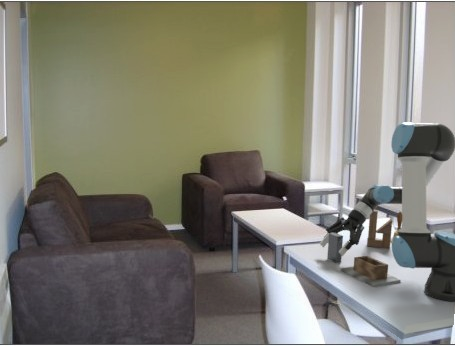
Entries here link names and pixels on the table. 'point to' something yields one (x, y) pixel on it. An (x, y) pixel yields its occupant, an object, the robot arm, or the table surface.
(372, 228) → the wooden angular frame
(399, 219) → the hand bell
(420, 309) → the table surface
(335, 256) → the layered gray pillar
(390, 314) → the table surface
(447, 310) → the table surface
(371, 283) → the post slot
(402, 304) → the table surface
